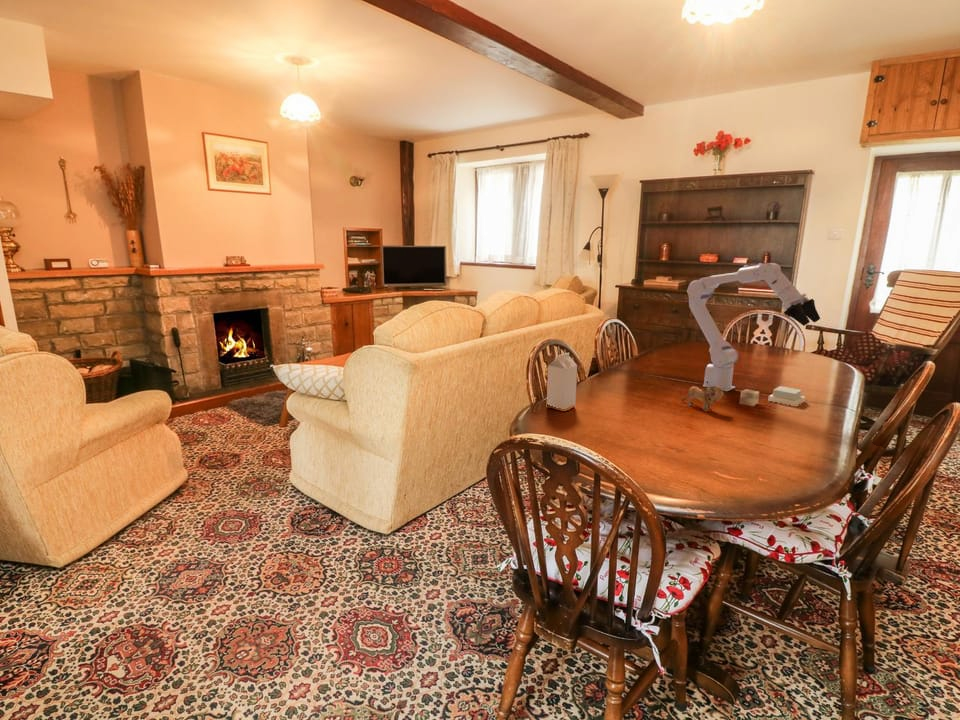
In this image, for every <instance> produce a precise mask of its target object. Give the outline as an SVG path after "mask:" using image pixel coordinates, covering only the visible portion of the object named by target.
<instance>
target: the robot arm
mask: <svg viewBox="0 0 960 720" xmlns="http://www.w3.org/2000/svg"><path fill="white" fill-rule="evenodd" d="M737 281H738V282H739V283H741V284H748V283H755V282H760V281H764V282H766V283H767V285H768V286H769V288H770V289H771V290H772V291H773V292H774V293H775V295H776V296H777V298H779V299H780V301H781V302H782V303H783V304H782V305H781V307H782V308H783V310H784V312H783V314H784V315H785V316H788V317H790V318H792V319H793V320H795V321H796V322H798V323H799V324H801V326H804V327H805V326H807V325H808V324H810V321H812V323H816V322H818V321H820V320H821V317H820V314H819V313H818V310H817V308H816V305H815V300H814V298H808V296H807V293H802V294H801V292H800V291H799V290H798V289H797V288H796V287H795V286H794V284H793V283H792V282H791V281H790V279H789V278H788V277H787V276H786V275H785V274H784V273H783V272H782V268H781V266H780V265H779V264H778V263H775V262H765V263H762V262H760V263H758V264H755V265H749V264H746V265H743V267H740V268H739V269H738V270H737V271H736V272H731V273H730V272H728V273H723V274H715V275H714V274H713V275H710V276H706V277H701V278H699V279H694V280H692V281H691V282H690V283H689V284H688V287H687V290H686V293H687V294H688V306H689V309H690V311H691V313H692V314H693V316H694V319H695V320H696V322H697V324H698V326H699V327H700V330H701V331H702V333H703V334H704V337H705V339H706V341H707V343H708V344H709V349H708V352H709V354H710V360H711V362H712V363H708V364H707V366H706V368H705V371H704V381H703V385H702V387H704V388H710V387H713V386H720V387H721V389H722V391H723V392H728V391H731V390H734V389H735V388H736V386H734V385H732V384H733V377H734V376H733V375H734V369H735V368H734V367H735V365H734V364H735V362H737V360H738V358H739V353H738V351H737V349H735V348H733V347H732V345H731V344H730V343H729V342H728V341H727V340H725V339H724V337H723V335H722V333H721V332H720V330H719V328H718V327H717V325H716V322H715V321H714V318H713V317H712V315H711V314H710V312H709V310H708V308H707V307H706V305H707V301H708V300H709V298H710V297H711V296H712V295H713V293H714V292H715V289H717V288H719V286H720V285H721V284H725V283H731V282H737Z"/></svg>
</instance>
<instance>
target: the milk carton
mask: <svg viewBox="0 0 960 720" xmlns="http://www.w3.org/2000/svg"><path fill="white" fill-rule="evenodd" d="M577 377H578V364H577V363H576V362H575V361H574V360H573V358H572V357H571V356H570V352H565V353H561V354H559V355H558V354H557V355H556V359H555V360H553V361H552V362H551V363H549V364H548V366H547V383H546V384H547V387H546V388H547V389H546V405H547V404H548V405H550V406H553V407H556V408H561V409H566V408H568V407H570V406H572V405H575V406H576V401H577V400H576V399H577V383H578V382H577V380H578V379H577Z"/></svg>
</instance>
